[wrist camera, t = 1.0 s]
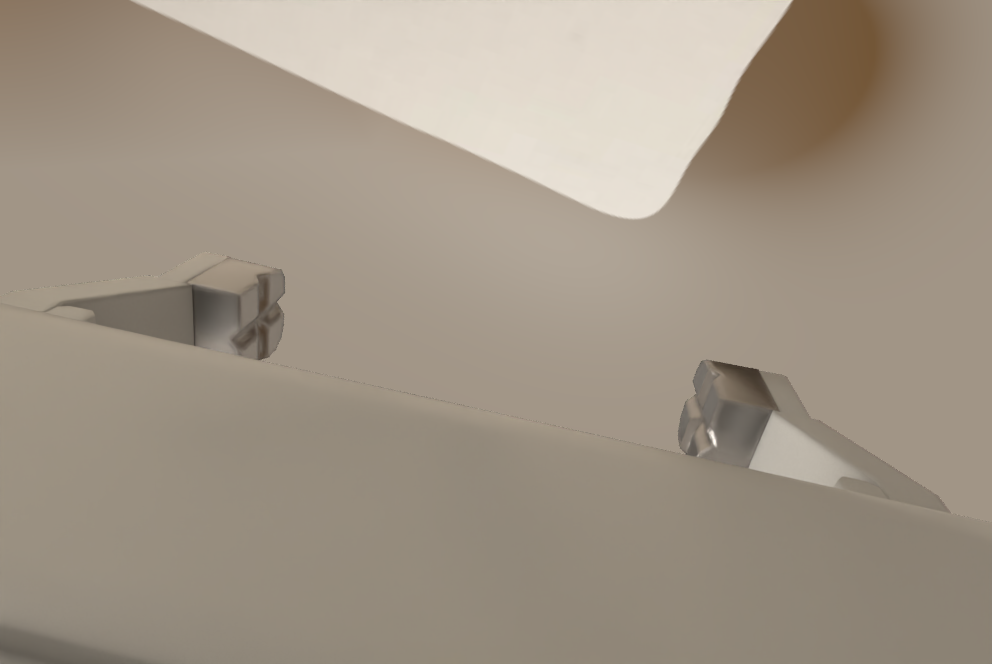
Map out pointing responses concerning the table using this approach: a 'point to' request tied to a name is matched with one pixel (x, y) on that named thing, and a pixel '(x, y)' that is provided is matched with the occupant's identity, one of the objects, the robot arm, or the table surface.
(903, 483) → the robot arm
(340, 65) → the table surface
